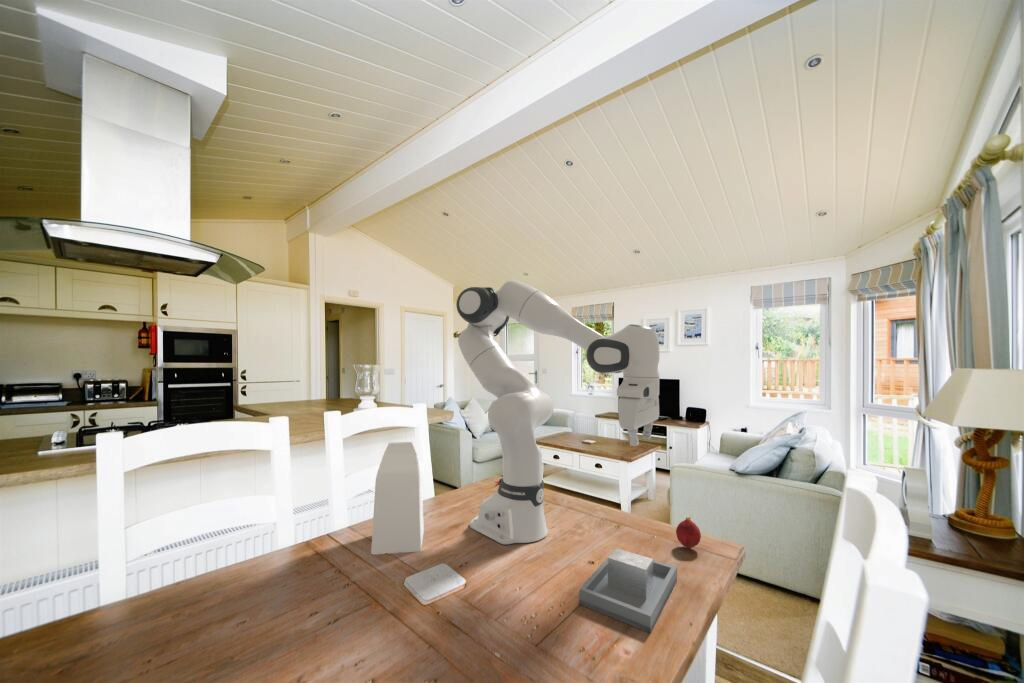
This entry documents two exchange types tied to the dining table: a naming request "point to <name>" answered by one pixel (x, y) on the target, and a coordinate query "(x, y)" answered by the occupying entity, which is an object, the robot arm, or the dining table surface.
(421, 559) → the dining table surface
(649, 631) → the tray
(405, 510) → the milk
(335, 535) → the dining table surface
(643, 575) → the block
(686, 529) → the onion
